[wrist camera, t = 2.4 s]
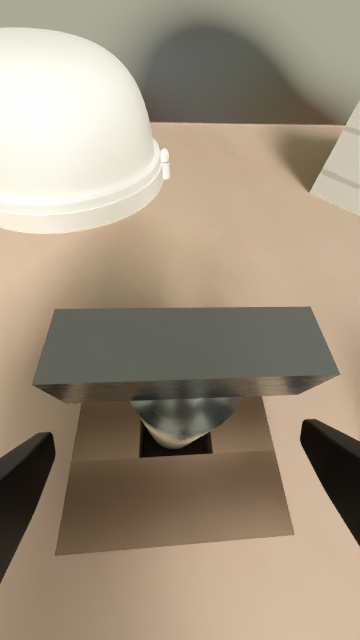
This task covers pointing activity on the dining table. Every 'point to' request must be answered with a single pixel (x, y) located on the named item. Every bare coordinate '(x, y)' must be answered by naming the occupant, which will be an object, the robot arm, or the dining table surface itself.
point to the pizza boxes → (343, 169)
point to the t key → (182, 362)
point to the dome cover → (71, 135)
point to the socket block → (170, 484)
